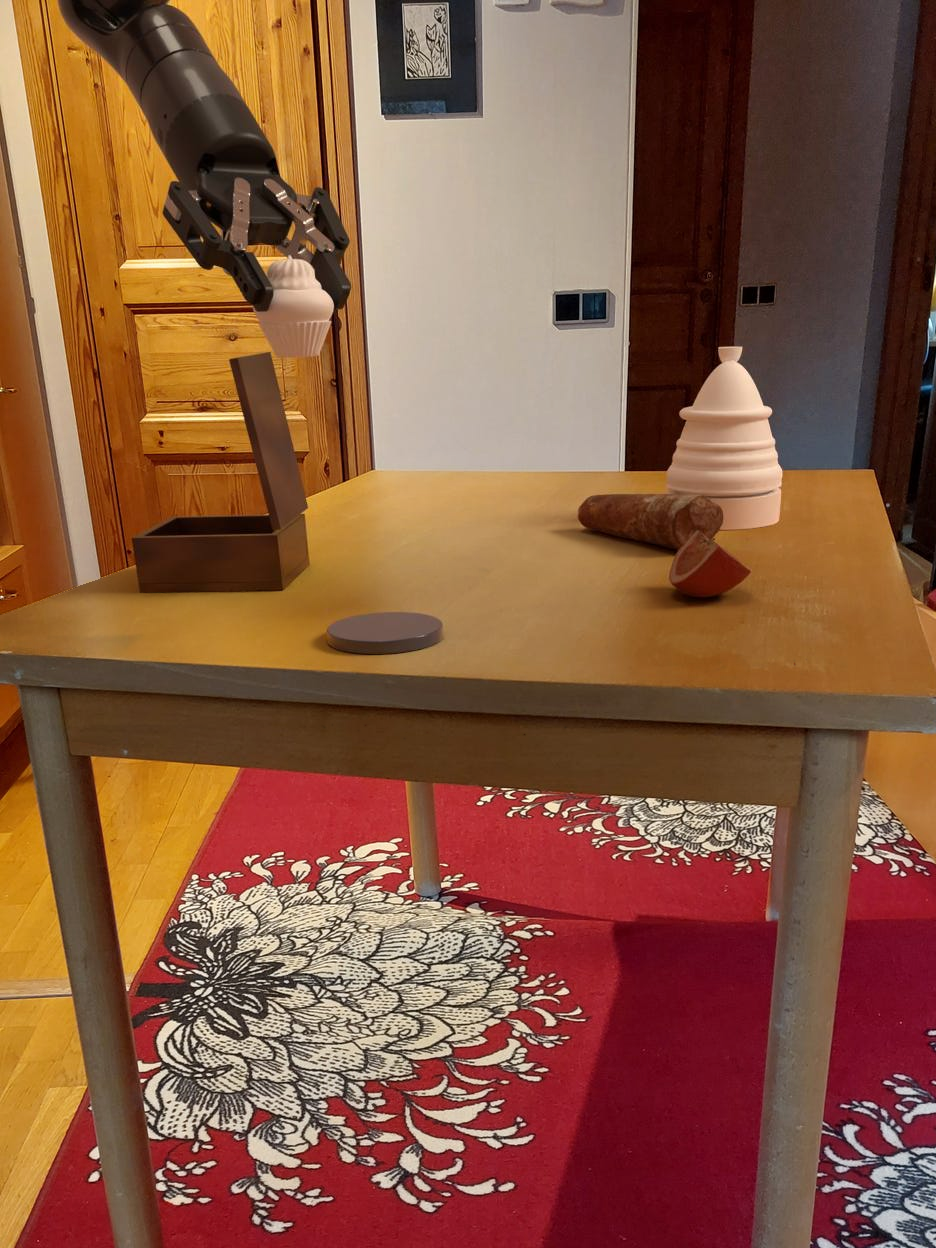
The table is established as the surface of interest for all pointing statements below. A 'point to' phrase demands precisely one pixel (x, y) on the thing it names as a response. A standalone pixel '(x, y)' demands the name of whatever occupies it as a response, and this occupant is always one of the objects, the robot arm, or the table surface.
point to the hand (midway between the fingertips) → (305, 301)
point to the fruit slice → (705, 568)
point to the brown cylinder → (652, 517)
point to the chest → (220, 554)
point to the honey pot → (729, 449)
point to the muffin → (295, 310)
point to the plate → (385, 632)
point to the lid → (269, 437)
